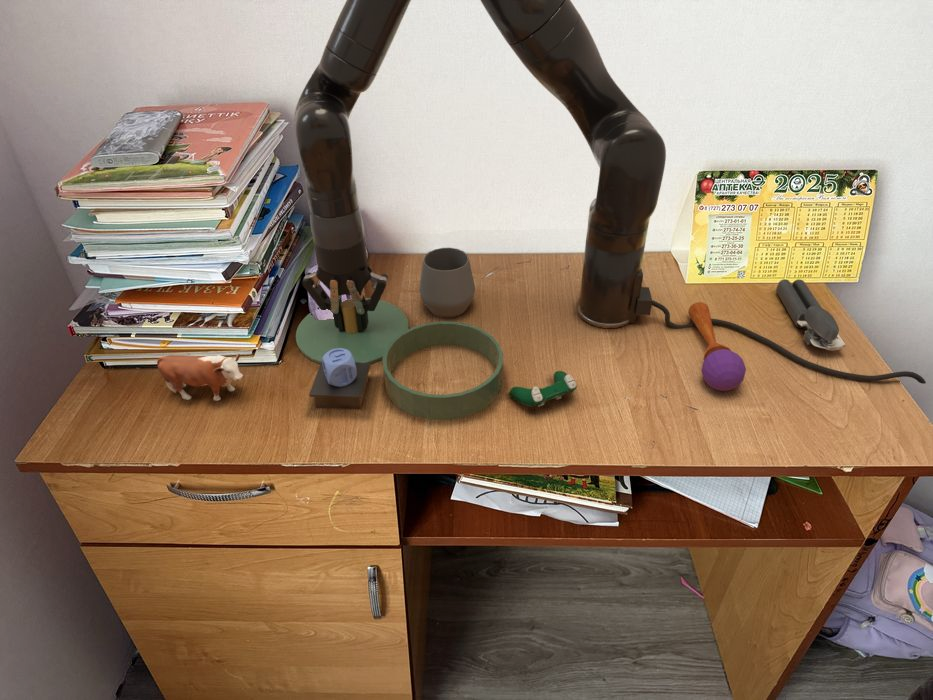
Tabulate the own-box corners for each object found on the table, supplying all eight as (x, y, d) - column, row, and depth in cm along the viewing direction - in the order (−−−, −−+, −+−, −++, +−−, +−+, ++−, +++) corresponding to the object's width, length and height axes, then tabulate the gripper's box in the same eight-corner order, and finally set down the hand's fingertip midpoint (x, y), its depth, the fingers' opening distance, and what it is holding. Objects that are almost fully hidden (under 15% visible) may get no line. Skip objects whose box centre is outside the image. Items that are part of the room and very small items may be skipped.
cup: (464, 289, 121) (463, 240, 115) (483, 317, 114) (483, 267, 108) (413, 300, 118) (410, 251, 112) (430, 330, 112) (427, 279, 105)
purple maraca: (722, 298, 110) (757, 369, 94) (709, 328, 114) (740, 402, 97) (687, 291, 110) (716, 361, 94) (674, 322, 114) (700, 394, 97)
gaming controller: (514, 414, 98) (531, 411, 92) (505, 389, 98) (522, 385, 93) (567, 394, 101) (586, 389, 96) (558, 370, 102) (577, 364, 96)
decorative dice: (331, 390, 95) (327, 368, 92) (324, 373, 98) (319, 352, 95) (358, 382, 96) (355, 360, 94) (350, 366, 99) (347, 344, 97)
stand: (375, 379, 102) (372, 361, 100) (365, 416, 96) (362, 397, 94) (323, 377, 102) (319, 359, 100) (310, 414, 96) (306, 396, 94)
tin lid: (415, 304, 118) (413, 274, 114) (401, 372, 103) (397, 340, 99) (312, 302, 119) (306, 272, 115) (283, 368, 104) (275, 337, 100)
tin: (503, 347, 108) (504, 322, 105) (501, 424, 94) (501, 399, 91) (394, 344, 109) (392, 320, 106) (376, 420, 95) (373, 395, 92)
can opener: (844, 359, 104) (858, 326, 100) (811, 359, 104) (824, 326, 100) (801, 291, 119) (811, 260, 115) (771, 291, 119) (781, 260, 115)
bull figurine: (247, 412, 97) (234, 369, 92) (163, 400, 99) (145, 357, 94) (260, 392, 100) (249, 349, 95) (178, 381, 102) (163, 339, 97)
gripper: (389, 223, 102) (398, 316, 113) (298, 222, 103) (316, 314, 114) (381, 248, 96) (391, 344, 107) (285, 246, 97) (304, 341, 108)
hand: (352, 328), depth 110 cm, fingers closed on tin lid, 2 cm apart
